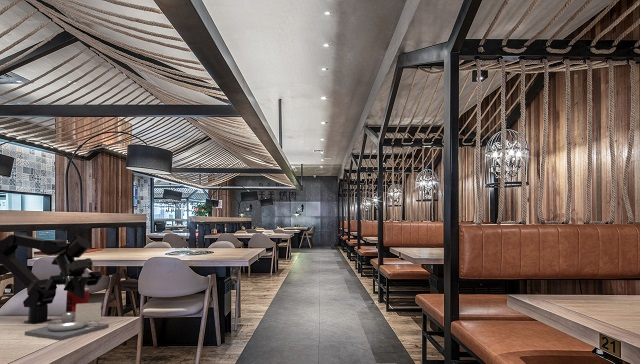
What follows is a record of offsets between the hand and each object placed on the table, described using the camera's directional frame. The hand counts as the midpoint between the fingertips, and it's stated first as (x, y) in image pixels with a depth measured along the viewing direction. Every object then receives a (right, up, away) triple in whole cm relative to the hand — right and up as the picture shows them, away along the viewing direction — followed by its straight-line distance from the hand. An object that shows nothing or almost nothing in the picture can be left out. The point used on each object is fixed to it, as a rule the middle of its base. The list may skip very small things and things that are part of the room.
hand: (83, 298), depth 155 cm
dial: (+1, -8, -7) cm, 11 cm away
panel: (-1, -9, -8) cm, 12 cm away
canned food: (-12, -12, +16) cm, 23 cm away
